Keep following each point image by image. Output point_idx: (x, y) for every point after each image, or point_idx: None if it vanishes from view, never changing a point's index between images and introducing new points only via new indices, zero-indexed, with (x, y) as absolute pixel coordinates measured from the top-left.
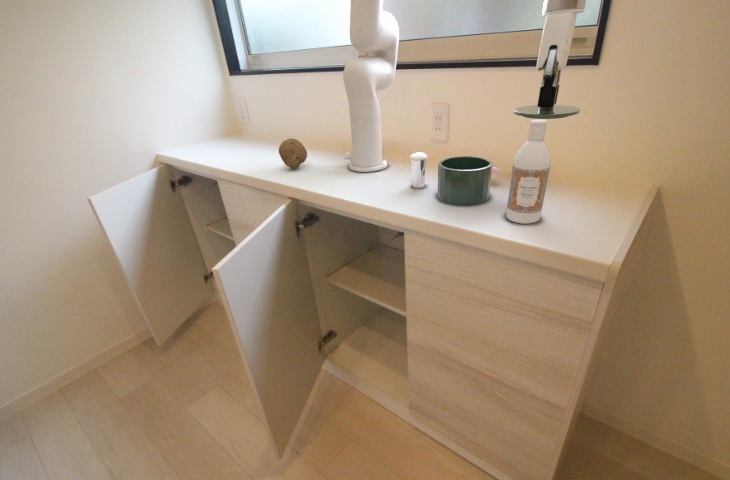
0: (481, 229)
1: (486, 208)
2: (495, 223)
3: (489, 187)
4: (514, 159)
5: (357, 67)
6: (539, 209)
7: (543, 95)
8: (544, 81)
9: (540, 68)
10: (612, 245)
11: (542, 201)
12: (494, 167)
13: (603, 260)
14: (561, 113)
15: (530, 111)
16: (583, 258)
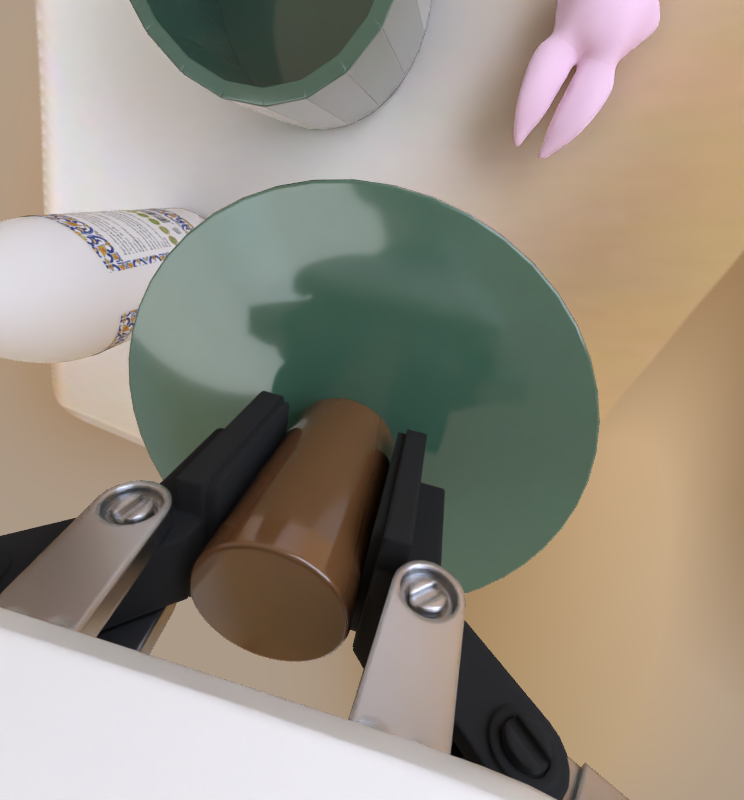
0: (67, 136)
1: (223, 133)
2: (123, 177)
3: (296, 122)
4: (7, 220)
5: None
6: None
7: (187, 461)
8: (17, 535)
9: (138, 690)
10: (131, 426)
11: None
12: (578, 116)
13: (67, 398)
14: None
15: (243, 328)
16: (56, 368)
